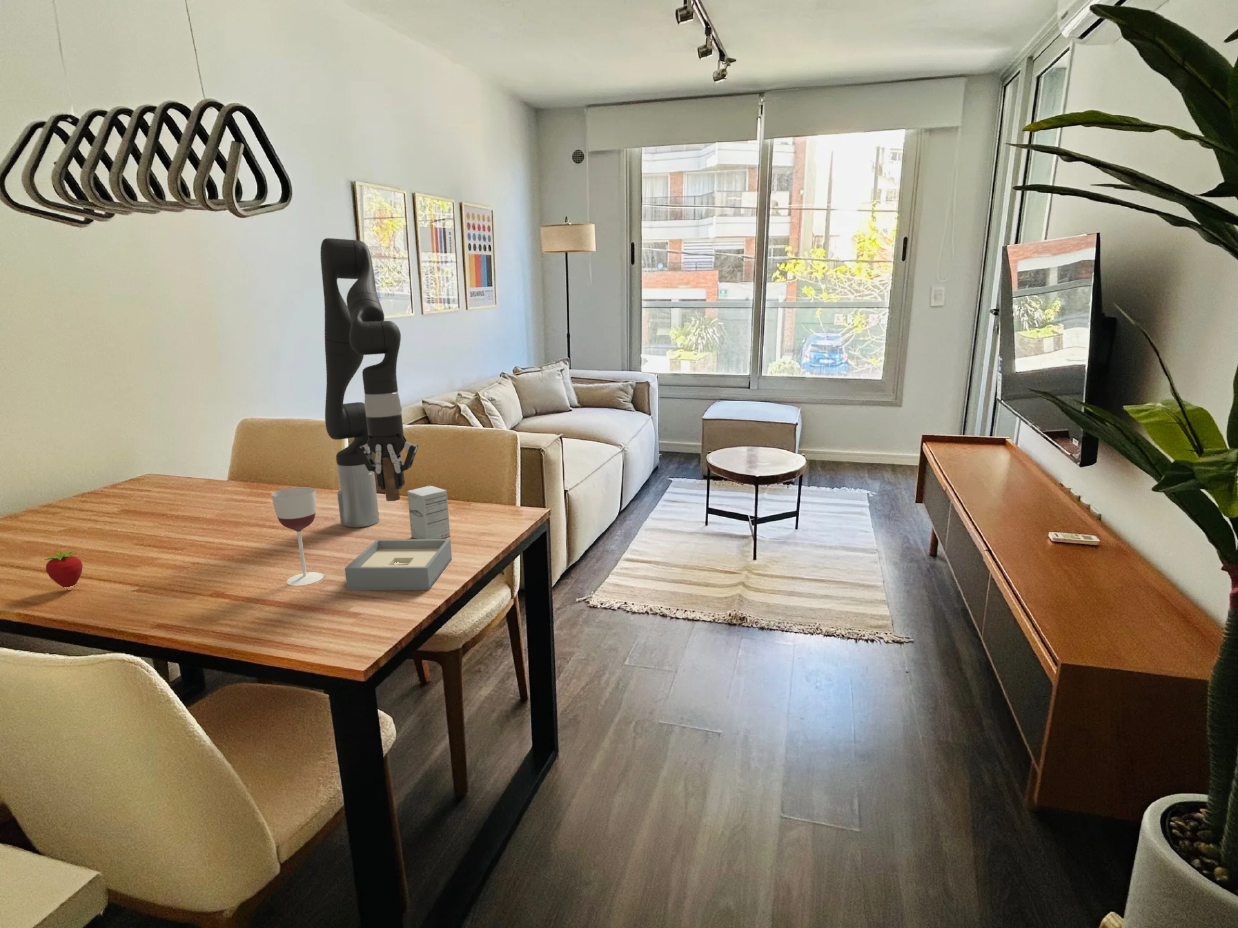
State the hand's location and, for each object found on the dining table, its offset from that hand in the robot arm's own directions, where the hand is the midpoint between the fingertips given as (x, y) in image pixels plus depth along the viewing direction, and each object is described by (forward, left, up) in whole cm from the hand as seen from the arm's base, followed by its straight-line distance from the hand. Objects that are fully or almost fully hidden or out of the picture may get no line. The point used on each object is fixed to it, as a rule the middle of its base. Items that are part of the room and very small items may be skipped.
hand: (392, 488), depth 156 cm
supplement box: (+2, +18, -18) cm, 26 cm away
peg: (0, 0, -3) cm, 3 cm away
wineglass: (-18, -9, -18) cm, 27 cm away
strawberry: (-67, -15, -18) cm, 71 cm away
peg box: (+3, -6, -18) cm, 19 cm away
